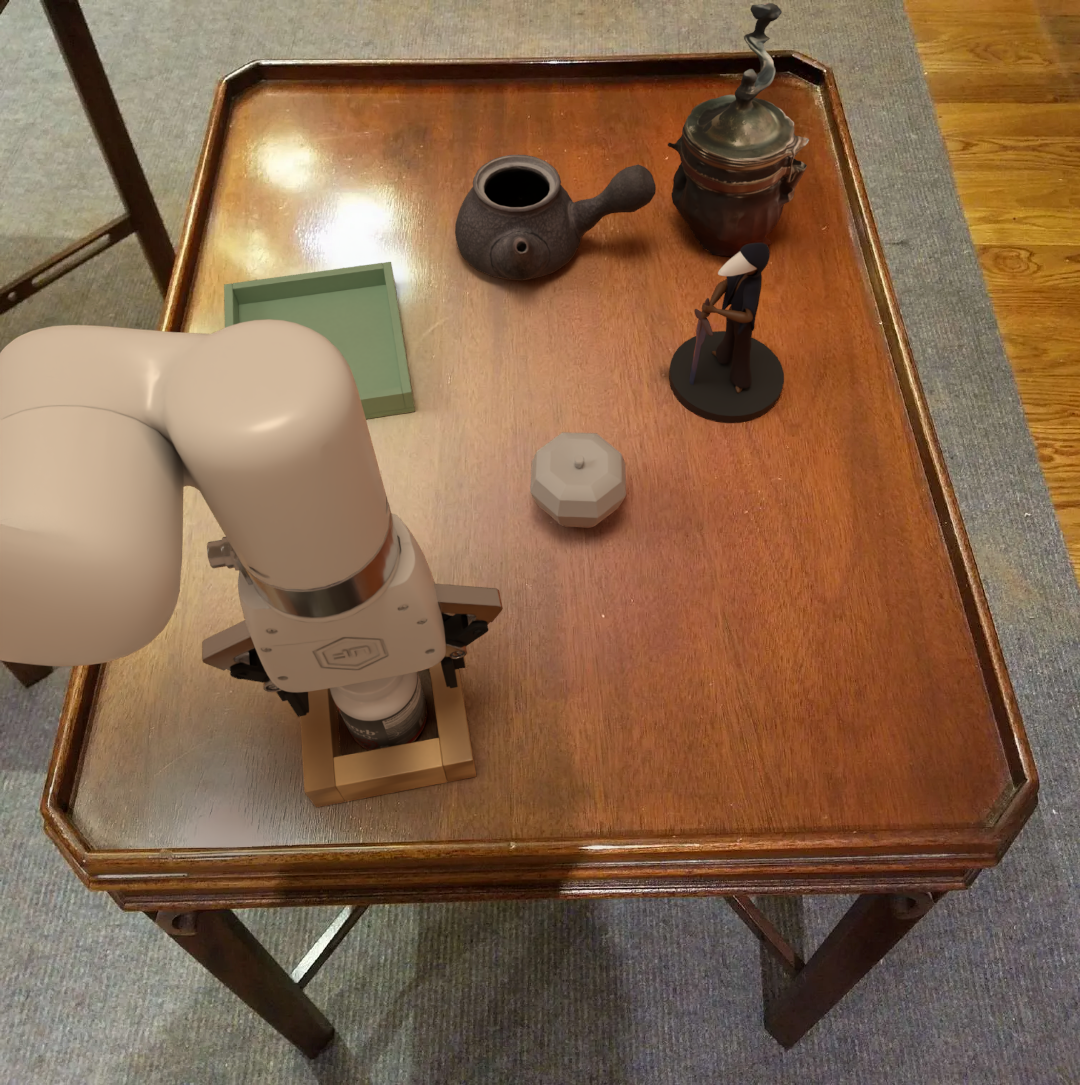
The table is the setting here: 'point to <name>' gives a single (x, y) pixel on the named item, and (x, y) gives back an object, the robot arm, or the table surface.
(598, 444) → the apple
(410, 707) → the pill bottle
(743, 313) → the figurine
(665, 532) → the table surface
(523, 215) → the teapot
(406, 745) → the holder
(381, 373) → the tray
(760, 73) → the coffee grinder
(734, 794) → the table surface
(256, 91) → the table surface
